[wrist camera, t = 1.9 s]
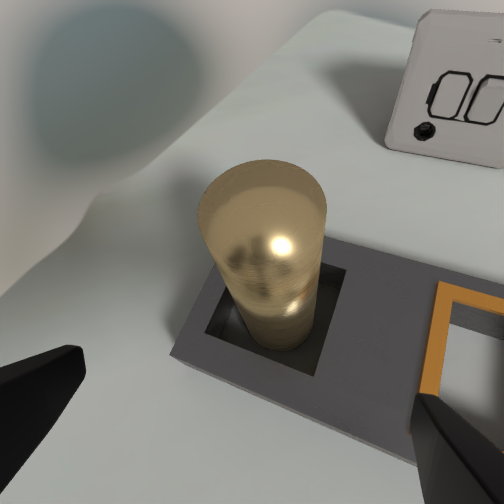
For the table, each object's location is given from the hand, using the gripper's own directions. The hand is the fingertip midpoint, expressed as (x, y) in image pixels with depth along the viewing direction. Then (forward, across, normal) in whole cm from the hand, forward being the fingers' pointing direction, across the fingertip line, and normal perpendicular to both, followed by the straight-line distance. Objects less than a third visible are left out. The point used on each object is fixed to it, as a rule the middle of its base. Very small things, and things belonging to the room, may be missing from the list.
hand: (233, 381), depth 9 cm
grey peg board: (+11, -6, +6) cm, 14 cm away
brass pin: (+12, 0, +5) cm, 13 cm away
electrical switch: (+24, -12, -7) cm, 28 cm away
